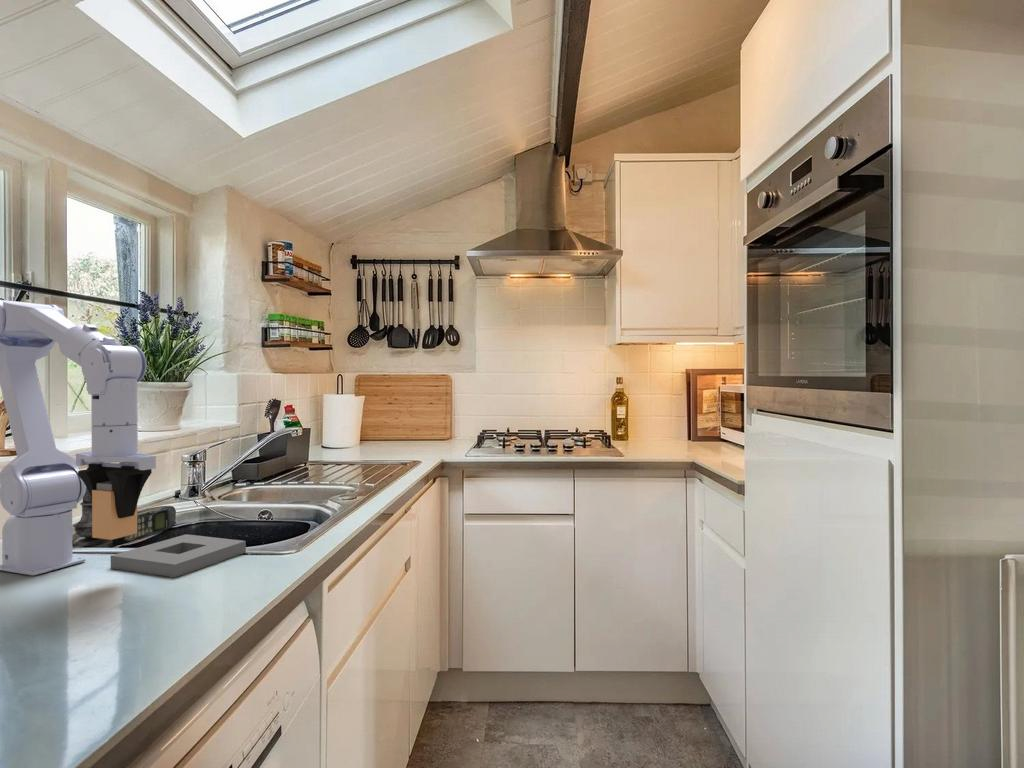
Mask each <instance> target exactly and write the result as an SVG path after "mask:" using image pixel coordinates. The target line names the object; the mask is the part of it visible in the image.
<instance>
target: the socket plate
mask: <svg viewBox="0 0 1024 768" xmlns="http://www.w3.org/2000/svg"><path fill="white" fill-rule="evenodd" d="M246 543H247V542H246V540H241V539H233V538H232V539H230V538H222V537H212V536H205V535H204V536H203V535H195V534H182V535H179V536H176V537H172V538H169V539H165V540H161V541H157V542H154V543H151V544H147V545H143V546H140V547H136V548H132V549H129V550H126V551H123V552H118V553H115V554H112V555H110V569H113V570H122V571H128V572H134V573H141V572H142V574H147V573H149V575H154V574H155V575H156V576H161V575H162V576H163V577H168V578H178V577H181V576H183V575H186V574H189V573H192V572H195V571H198V570H200V569H203V568H206V567H208V566H211V565H215V564H216V563H219V562H222V561H225V560H228V559H231V558H234V557H236V556H240V555H243V554H245V553H246V552H247V547H246V546H247V545H246ZM162 576H161V577H162Z"/></svg>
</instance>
